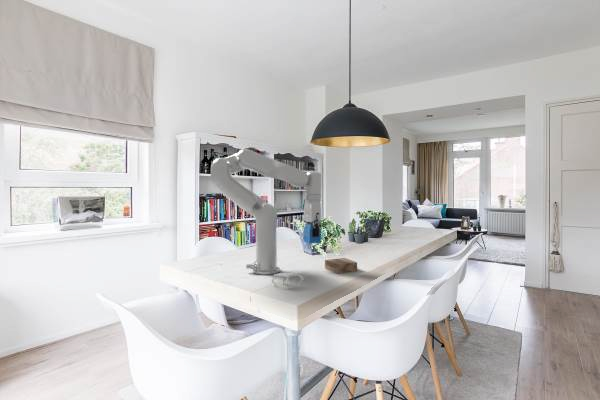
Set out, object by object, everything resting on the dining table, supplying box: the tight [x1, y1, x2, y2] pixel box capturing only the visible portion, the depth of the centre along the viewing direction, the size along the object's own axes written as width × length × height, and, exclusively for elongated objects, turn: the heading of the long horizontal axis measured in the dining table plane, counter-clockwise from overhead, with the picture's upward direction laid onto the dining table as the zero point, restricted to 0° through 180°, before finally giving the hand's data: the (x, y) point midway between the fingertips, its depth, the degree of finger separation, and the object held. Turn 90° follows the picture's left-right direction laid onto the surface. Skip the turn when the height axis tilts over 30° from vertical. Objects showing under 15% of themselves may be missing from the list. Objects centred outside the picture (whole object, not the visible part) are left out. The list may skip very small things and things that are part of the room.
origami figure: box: [271, 272, 305, 290], centre depth 132 cm, size 12×8×5 cm
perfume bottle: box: [302, 222, 322, 244], centre depth 158 cm, size 6×6×12 cm
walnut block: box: [324, 257, 358, 274], centre depth 157 cm, size 11×11×4 cm
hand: (312, 235), depth 158 cm, fingers closed on perfume bottle, 6 cm apart
